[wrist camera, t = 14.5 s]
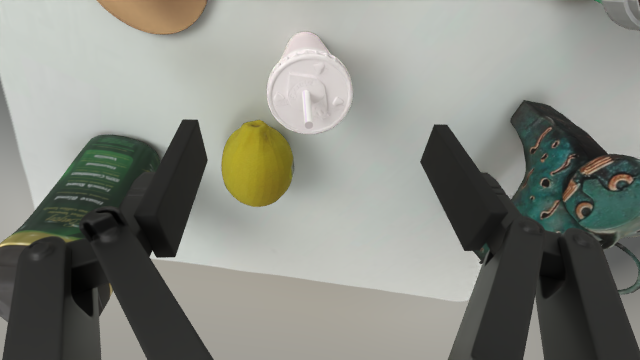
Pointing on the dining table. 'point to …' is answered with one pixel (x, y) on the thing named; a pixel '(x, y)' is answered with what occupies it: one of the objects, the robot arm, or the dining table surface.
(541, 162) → the ceramic cat
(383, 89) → the dining table surface
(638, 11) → the food container
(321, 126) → the white drink cup
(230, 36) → the dining table surface
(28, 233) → the coffee jar
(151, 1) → the cork coaster
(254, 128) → the lemon
